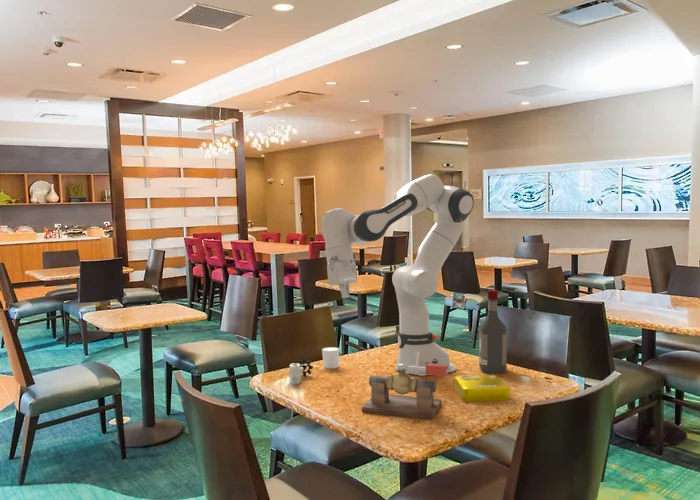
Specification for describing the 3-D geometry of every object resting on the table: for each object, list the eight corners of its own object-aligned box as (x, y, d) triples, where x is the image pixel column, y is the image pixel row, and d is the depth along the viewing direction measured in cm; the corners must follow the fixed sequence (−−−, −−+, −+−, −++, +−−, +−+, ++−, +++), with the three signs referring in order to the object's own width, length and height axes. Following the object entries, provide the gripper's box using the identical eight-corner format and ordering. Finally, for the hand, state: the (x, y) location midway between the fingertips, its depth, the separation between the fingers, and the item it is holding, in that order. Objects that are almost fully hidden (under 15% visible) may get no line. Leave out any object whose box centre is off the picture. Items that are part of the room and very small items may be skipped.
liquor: (502, 366, 212) (502, 288, 210) (507, 373, 202) (507, 292, 201) (478, 366, 212) (478, 289, 211) (482, 373, 203) (482, 292, 202)
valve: (301, 385, 192) (313, 376, 203) (301, 366, 191) (313, 358, 203) (284, 384, 193) (296, 374, 205) (283, 365, 193) (296, 357, 204)
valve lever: (447, 374, 163) (447, 364, 163) (445, 376, 160) (445, 367, 160) (398, 369, 168) (398, 360, 168) (395, 372, 166) (395, 363, 165)
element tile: (464, 403, 172) (464, 387, 172) (453, 388, 187) (452, 374, 187) (512, 401, 173) (512, 386, 173) (496, 387, 188) (496, 373, 188)
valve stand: (376, 397, 177) (375, 362, 177) (441, 404, 170) (441, 367, 169) (361, 411, 164) (361, 374, 164) (431, 419, 157) (431, 380, 156)
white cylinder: (326, 369, 211) (326, 351, 210) (319, 365, 217) (319, 348, 216) (342, 367, 214) (342, 349, 213) (335, 363, 220) (334, 346, 220)
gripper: (338, 254, 174) (345, 298, 173) (357, 255, 194) (363, 294, 193) (319, 257, 176) (326, 301, 175) (340, 258, 195) (346, 297, 194)
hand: (345, 297), depth 184 cm, fingers closed
